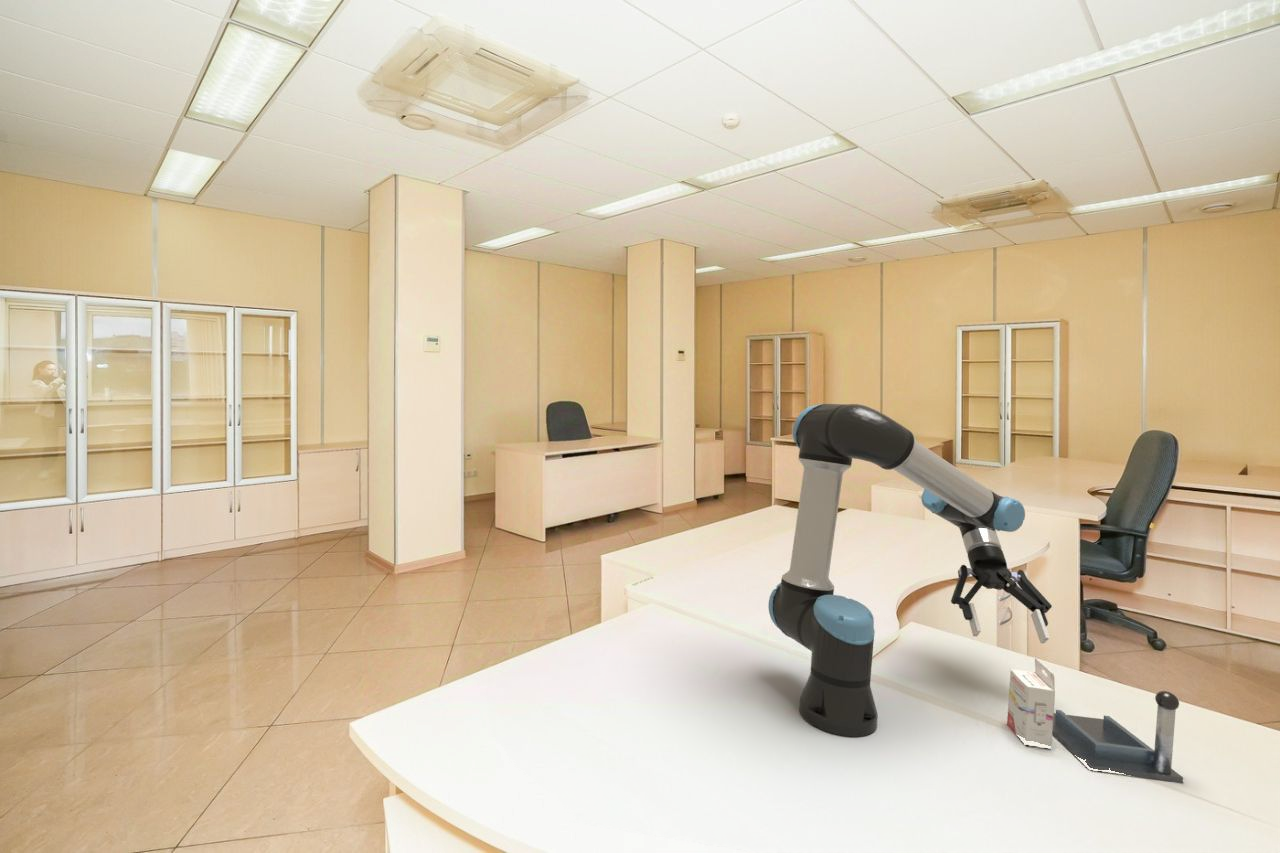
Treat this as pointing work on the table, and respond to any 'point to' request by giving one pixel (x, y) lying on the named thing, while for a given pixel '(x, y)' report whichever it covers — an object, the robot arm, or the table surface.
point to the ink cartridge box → (1032, 704)
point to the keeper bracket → (1122, 742)
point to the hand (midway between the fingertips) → (1010, 637)
